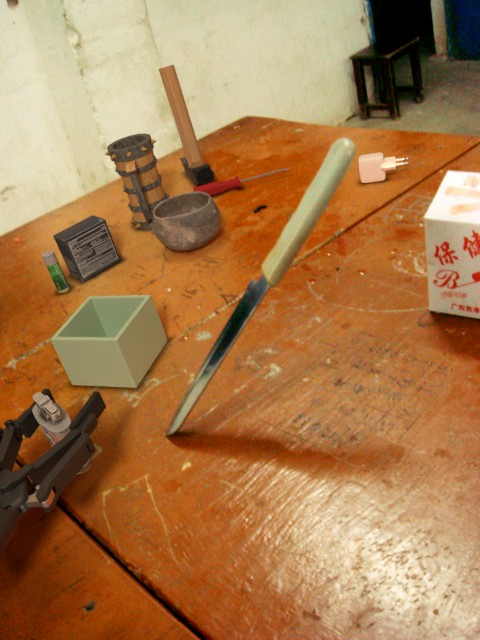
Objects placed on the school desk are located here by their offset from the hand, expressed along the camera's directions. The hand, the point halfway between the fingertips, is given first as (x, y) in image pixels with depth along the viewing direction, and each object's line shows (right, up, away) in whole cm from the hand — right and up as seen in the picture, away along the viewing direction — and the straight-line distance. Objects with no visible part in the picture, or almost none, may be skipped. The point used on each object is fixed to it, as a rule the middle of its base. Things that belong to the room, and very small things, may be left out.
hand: (74, 397), depth 85 cm
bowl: (+12, +27, +57) cm, 64 cm away
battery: (-16, +17, +53) cm, 57 cm away
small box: (-10, +22, +58) cm, 63 cm away
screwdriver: (+23, +44, +78) cm, 92 cm away
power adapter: (+56, +43, +62) cm, 94 cm away
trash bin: (+2, +3, +24) cm, 25 cm away
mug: (+1, +34, +72) cm, 80 cm away
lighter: (0, -8, 0) cm, 8 cm away
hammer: (+11, +49, +91) cm, 104 cm away
